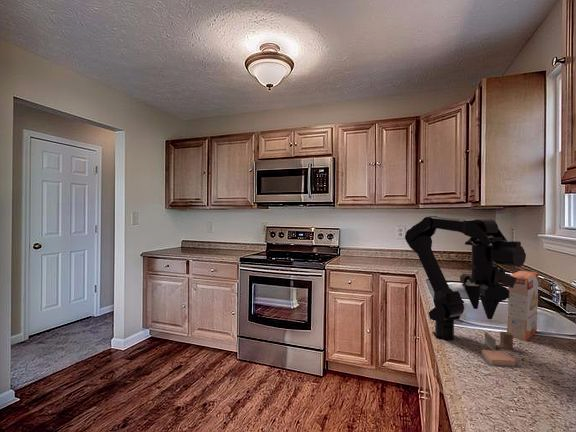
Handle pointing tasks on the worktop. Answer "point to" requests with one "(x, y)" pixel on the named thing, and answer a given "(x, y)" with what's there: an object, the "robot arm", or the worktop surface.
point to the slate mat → (499, 365)
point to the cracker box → (523, 305)
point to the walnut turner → (505, 341)
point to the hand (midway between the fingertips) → (482, 313)
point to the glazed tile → (498, 357)
